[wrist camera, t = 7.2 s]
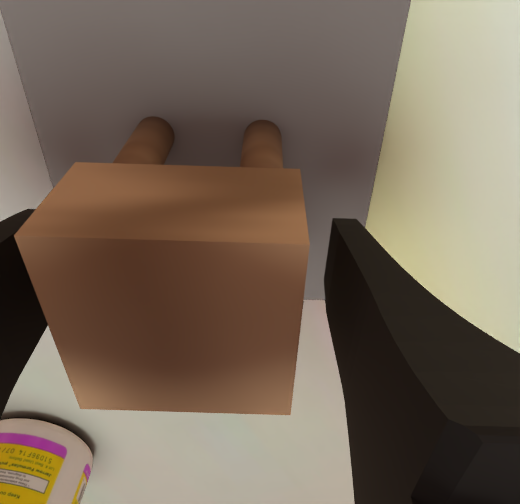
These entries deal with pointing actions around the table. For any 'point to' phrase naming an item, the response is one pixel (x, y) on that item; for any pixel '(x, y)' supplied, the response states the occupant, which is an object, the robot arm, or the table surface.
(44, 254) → the tan box with knobs
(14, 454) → the supplement bottle
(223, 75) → the pad
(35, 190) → the table surface
